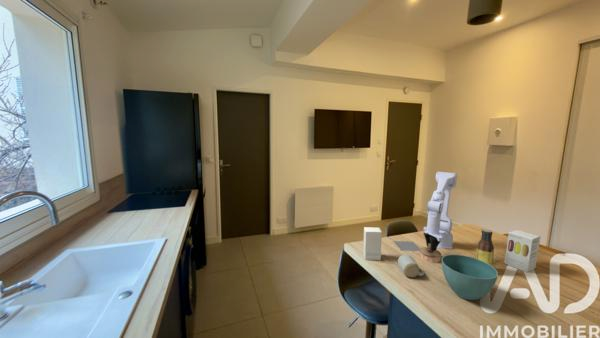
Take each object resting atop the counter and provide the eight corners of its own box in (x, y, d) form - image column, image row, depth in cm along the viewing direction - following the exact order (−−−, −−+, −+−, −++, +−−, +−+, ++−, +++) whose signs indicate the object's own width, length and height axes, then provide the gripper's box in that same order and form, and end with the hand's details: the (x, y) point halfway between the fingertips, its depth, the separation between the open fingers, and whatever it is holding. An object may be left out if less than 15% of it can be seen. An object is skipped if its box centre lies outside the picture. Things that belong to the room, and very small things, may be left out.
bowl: (434, 254, 127) (434, 249, 127) (443, 263, 118) (444, 257, 118) (417, 254, 127) (418, 248, 127) (426, 262, 118) (426, 257, 118)
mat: (412, 242, 143) (412, 241, 143) (422, 251, 131) (422, 250, 131) (393, 241, 143) (393, 241, 143) (401, 251, 131) (401, 250, 131)
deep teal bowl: (470, 313, 84) (473, 282, 82) (429, 283, 101) (431, 257, 100) (505, 304, 89) (510, 274, 87) (461, 277, 106) (463, 252, 105)
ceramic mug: (403, 278, 105) (405, 262, 104) (396, 268, 113) (398, 253, 112) (427, 279, 104) (429, 263, 103) (418, 269, 113) (420, 254, 112)
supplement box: (503, 263, 119) (507, 231, 117) (511, 259, 124) (516, 228, 122) (528, 272, 111) (533, 239, 109) (536, 268, 115) (541, 235, 113)
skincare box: (378, 254, 126) (379, 227, 124) (381, 261, 119) (382, 232, 118) (362, 253, 127) (363, 226, 125) (364, 260, 120) (365, 231, 118)
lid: (435, 249, 127) (436, 240, 126) (444, 258, 117) (445, 249, 117) (417, 248, 128) (417, 239, 127) (424, 256, 118) (425, 247, 117)
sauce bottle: (494, 274, 109) (499, 234, 106) (479, 273, 110) (484, 232, 108) (486, 267, 115) (491, 228, 113) (472, 265, 116) (476, 227, 114)
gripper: (418, 218, 128) (416, 242, 129) (433, 228, 113) (431, 255, 115) (431, 219, 128) (429, 242, 129) (448, 229, 113) (445, 255, 115)
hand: (431, 248), depth 122 cm, fingers open, 3 cm apart
